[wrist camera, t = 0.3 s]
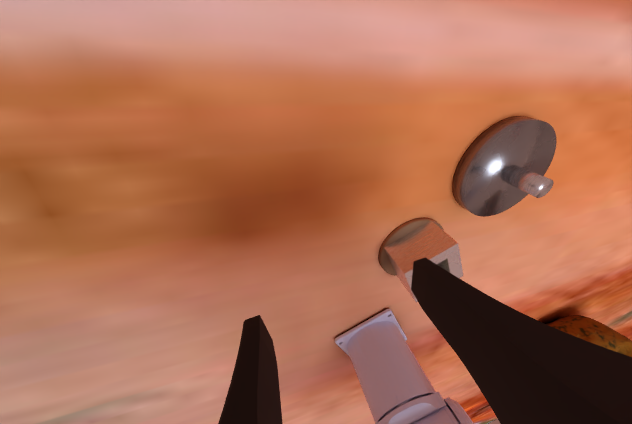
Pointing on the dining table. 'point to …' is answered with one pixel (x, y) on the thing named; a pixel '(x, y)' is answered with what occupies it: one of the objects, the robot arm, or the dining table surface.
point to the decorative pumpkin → (594, 333)
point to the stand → (398, 234)
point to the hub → (505, 166)
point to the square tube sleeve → (424, 252)
